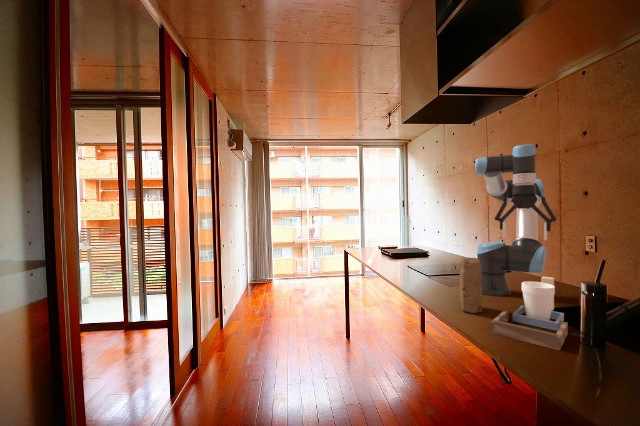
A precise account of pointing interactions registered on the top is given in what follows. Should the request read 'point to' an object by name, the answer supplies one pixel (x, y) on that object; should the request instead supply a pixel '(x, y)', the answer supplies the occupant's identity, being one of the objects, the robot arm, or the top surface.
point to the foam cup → (538, 299)
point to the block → (470, 285)
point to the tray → (537, 322)
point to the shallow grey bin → (528, 332)
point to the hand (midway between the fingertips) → (524, 238)
